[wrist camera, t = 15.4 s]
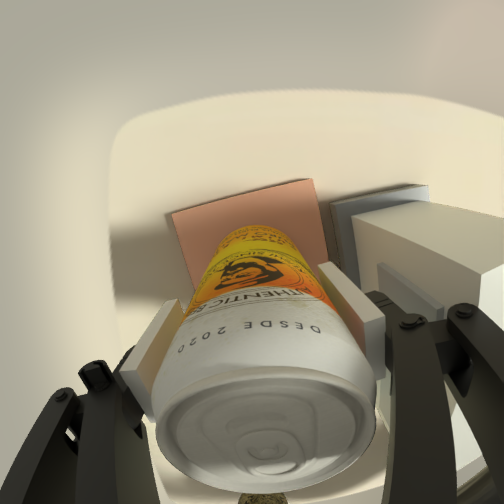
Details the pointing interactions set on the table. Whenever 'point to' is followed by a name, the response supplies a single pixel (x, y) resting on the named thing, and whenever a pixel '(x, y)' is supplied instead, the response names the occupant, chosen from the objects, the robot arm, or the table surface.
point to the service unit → (423, 268)
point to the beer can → (262, 375)
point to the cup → (263, 498)
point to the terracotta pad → (253, 213)
